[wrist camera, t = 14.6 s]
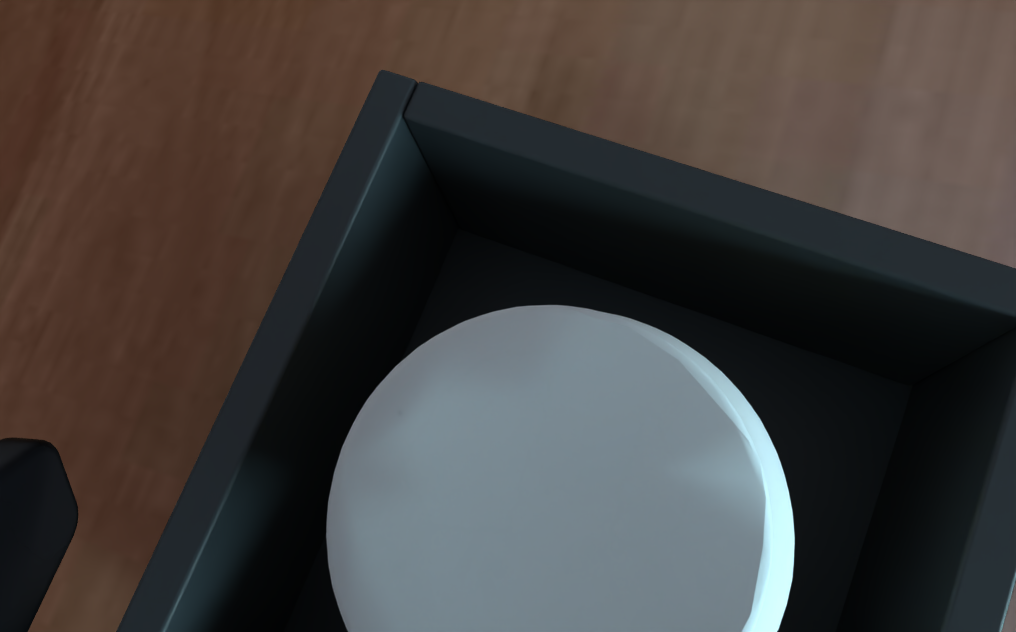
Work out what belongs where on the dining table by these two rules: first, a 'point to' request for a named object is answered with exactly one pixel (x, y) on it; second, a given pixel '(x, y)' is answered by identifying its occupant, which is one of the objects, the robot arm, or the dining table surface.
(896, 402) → the bin
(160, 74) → the dining table surface
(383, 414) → the pill bottle
